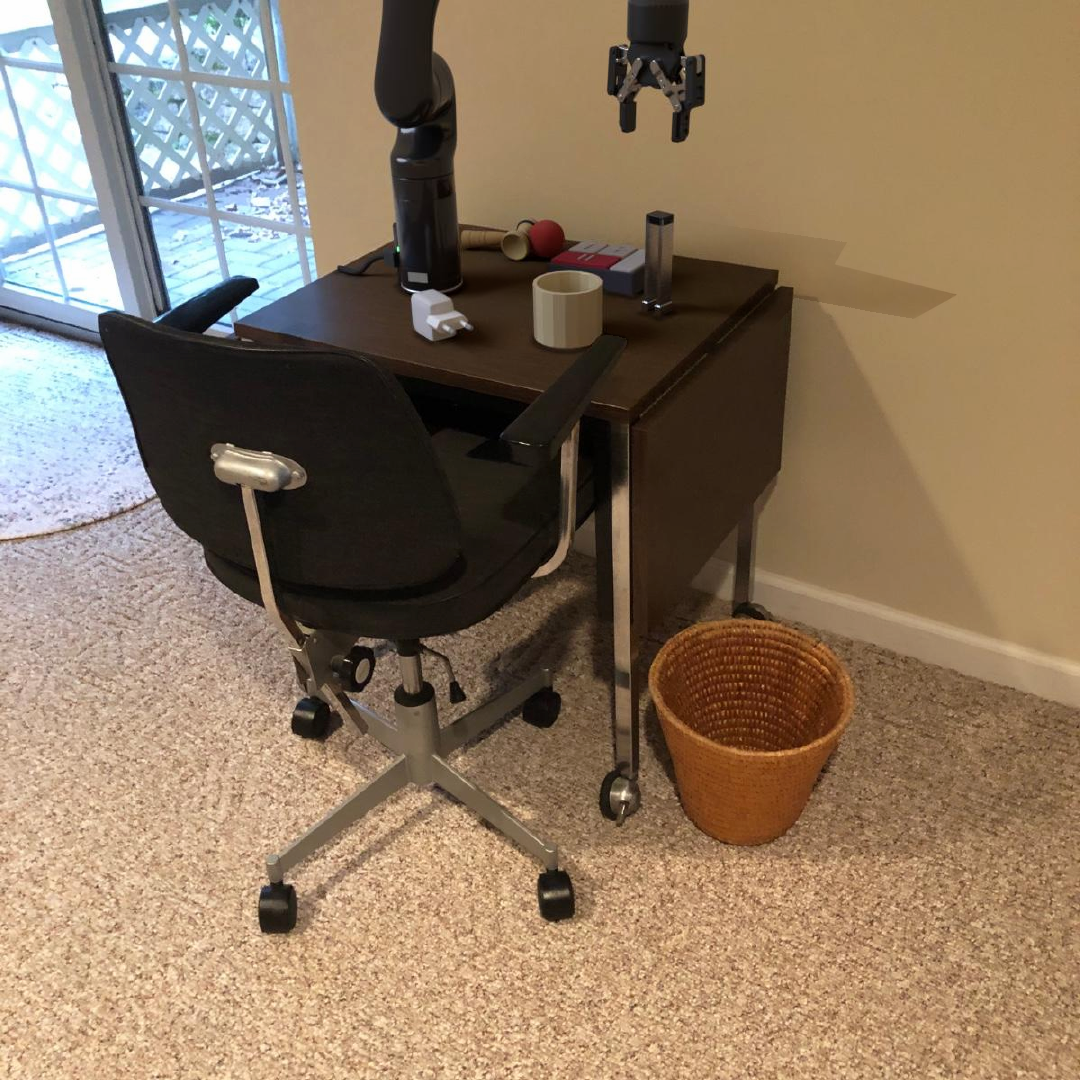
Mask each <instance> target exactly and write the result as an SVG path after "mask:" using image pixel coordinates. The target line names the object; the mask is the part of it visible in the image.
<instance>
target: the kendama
mask: <svg viewBox="0 0 1080 1080" xmlns="http://www.w3.org/2000/svg"><path fill="white" fill-rule="evenodd" d="M460 242H461V246H462V247H463V248H464V249H466V250H467V249H473V248H475V249H476V248H483V247H494V246H501V250H502V252H503V253H504V254H505V256H506V257H508V258H509V259H510V260H514V261H522V260H524V259H525V258H526V257H528V255H529V254H530V252H531V251H532V253H533V254H535V255H536V256H537V257H539V258H543V259H552V258H554V257H556V256H558V255H560V254H561V253H563V250H564V248H565V243H566V234H565V231H564V229H563V227H562V226H561V225H560V224H559V223H558V222H556V221H554V220H551V219H543V220H539V221H538V220H537V219H535V218H533V217H524V218H522V219H521V220H520V221H519V222H518V223H517V225H516V230H515V229H512V230H509V231H508V232H504V231H493V230H491V231H490V230H489V231H487V230H469V229H464V230H463V231H462V232H461V234H460Z"/></svg>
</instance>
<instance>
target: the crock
mask: <svg viewBox="0 0 1080 1080" xmlns="http://www.w3.org/2000/svg"><path fill="white" fill-rule="evenodd" d="M603 292H604V289H603V280H602V279H601V278H600V277H599V276H597V275H595V274H592V273H588V272H583V271H571V270H569V271H556V272H550V273H548V272H546V273H544V274H541V275H539V276H537V277H536V278H534V279H533V281H532V310H533V311H532V313H533V336H534V339H535V340H536V341H537V342H538V343H539V344H541V345H543V346H547V347H550V348H555V349H579V348H584V347H589V346H591V344H592V343H593V342H594V341H595V339H596V338H597V337H598V336H600V335H601V334H602V335H603V318H604V317H603V316H604V315H603V313H604V311H603V307H604V304H603V303H604V302H603V301H604V300H603V299H604V296H603V295H604V293H603ZM592 345H593V344H592Z"/></svg>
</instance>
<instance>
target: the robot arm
mask: <svg viewBox="0 0 1080 1080" xmlns="http://www.w3.org/2000/svg"><path fill="white" fill-rule="evenodd" d="M440 2H441V0H382V9H381V10H382V11H381V22H380V32H379V40H378V48H377V55H376V63H375V69H374V80H373V92H374V98H375V103H376V105H377V108H378V110H379V112H380V114H381V115H382V116H383V118H384V119H385V120H386V121H387V122H388V123H389V124H391V125H392V126H393V127H395V128H397V129H396V136H395V141H394V145H393V147H392V149H391V151H390V154H389V168H390V169H389V170H390V178H391V179H390V180H391V187H392V197H393V207H394V218H395V221H394V222H393V224H392V233H393V242H394V243H393V244H394V246H390V247H387V248H383V249H382V252H381V253H376V254H374V255H372V256H370V257H368V258H367V259H366V260H365V262H364V263H363V264H362V265H361V266H360V267H358V268H351V267H347V266H344V265H340V264H338V265H337V266H336V270H337V271H338V272H341V273H343V274H348V275H350V276H357V275H358V276H359V275H362V274H364V273H365V272H366V271H367V270H368V269H369V268H370V267H371V265H372V264H373V263H375V262H377V261H380V260H383V263H384V265H385V266H387V267H391V268H393V269H396V272H397V273H396V274H397V281H398V285H400V286H401V290H402V291H403V292H404V293H406V294H409V295H411V296H412V295H413V294H415V293H418V292H422V291H426V290H431V289H434V290H436V291H438V292H440V293H442V294H444V295H448V294H451V293H454V292H456V291H458V290H460V289H461V288H462V287H463V286H464V281H463V274H462V260H461V259H462V258H461V245H460V229H459V218H458V217H459V216H458V214H459V213H458V202H457V189H456V173H455V171H456V170H455V156H456V151H457V146H458V118H457V116H458V115H457V114H458V113H457V94H456V92H457V91H456V85H455V80H454V76H453V73H452V70H451V67H450V65H449V64H448V62H447V61H446V60H445V58H443V56H441V55H440V54H439V53H438V52H436V51H434V35H435V34H434V32H435V23H436V17H437V13H438V9H439V5H440ZM626 12H627V14H626V38H627V41H629V45H628V44H626V43H624V44H623V43H622V44H617V45H613V46H610V47H609V50H608V66H607V81H606V82H607V83H606V93H607V94H608V96H613V97H615V98H616V100H617V101H618V103H619V115H618V116H619V117H618V118H619V119H618V123H619V127H620V130H621V133H624V134H629V133H633V132H635V131H636V129H637V109H638V107H637V106H638V104H637V103H638V101H636V100H635V99H636V98H637V97H638V95H639V93H640V91H641V90H642V89H643V88H647V87H650V88H653V89H654V90H661V91H662V93H663V95H664V97H666V98H668V100H669V101H670V104H671V107H672V108H673V110H674V111H672V118H671V138H670V140H671V142H672V143H676V144H679V143H682V142H685V141H686V139H687V138H688V137H689V135H690V123H691V113H692V112H691V111H692V110H693V109H695V108H699V107H702V106H704V105H705V102H706V62H707V61H706V56H705V54H703V53H699V54H695V55H686V53H685V42H686V40H687V38H688V30H689V12H690V0H627V11H626ZM628 63H629V64H628ZM628 65H630V67H631V68H630V70H629V71H628ZM684 75H685V76H684ZM674 84H675V85H674Z"/></svg>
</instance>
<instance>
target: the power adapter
mask: <svg viewBox="0 0 1080 1080" xmlns="http://www.w3.org/2000/svg"><path fill="white" fill-rule="evenodd" d="M410 301H411V314H412V324H413V328H414V330H415V332H416V333H418V334H420V335H421V336H423V337H425V338H426V339H428V340H429V341H432V342H437V341H441V340H445V339H448V338H452V337H455V336H456V335H457V330H461V329H463V328H465V329H466V330H468V331H469V332H470V331H471V332H472V331H473V330H474V326H473V325H472V324H470V323H468V322H469V319H468V318H467V316H465V314H463V313H461V312H459V311H458V310H456V309H455V308H454V303H453V300H452V299H451V297H449V296H447V294H442V293H440V292H438V291H436V290H434V289H431V290H426V291H422V292H418V293H415V294H413V295H412V294H411V298H410Z"/></svg>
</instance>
